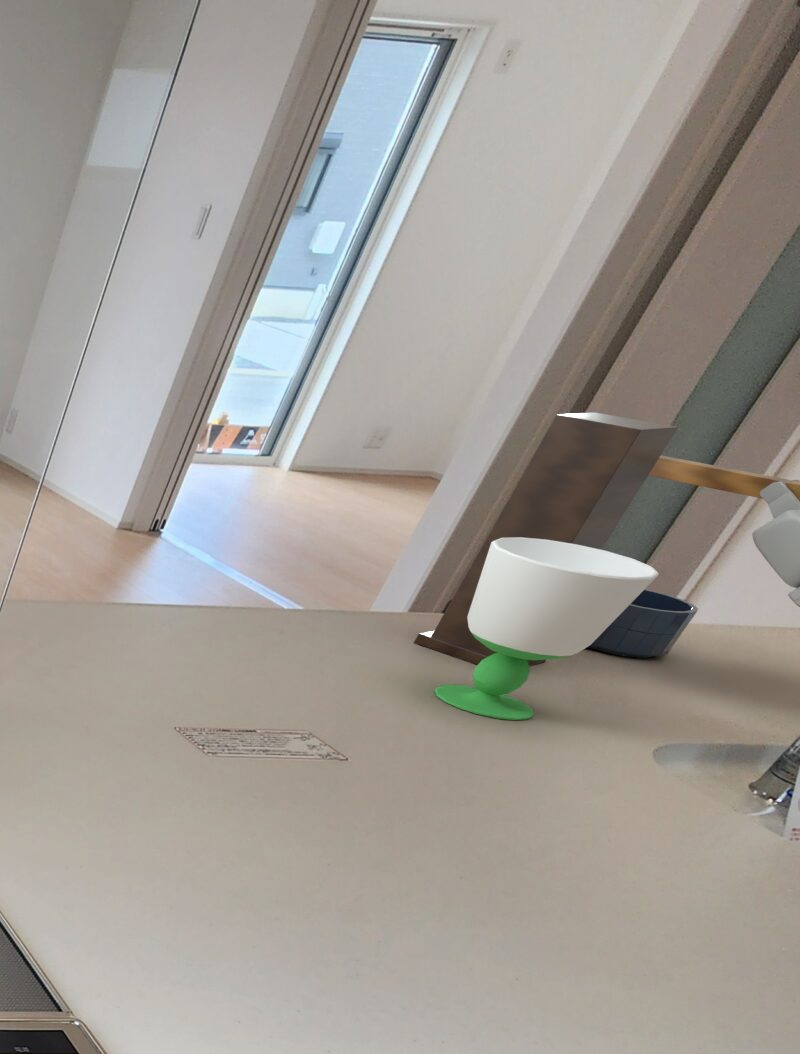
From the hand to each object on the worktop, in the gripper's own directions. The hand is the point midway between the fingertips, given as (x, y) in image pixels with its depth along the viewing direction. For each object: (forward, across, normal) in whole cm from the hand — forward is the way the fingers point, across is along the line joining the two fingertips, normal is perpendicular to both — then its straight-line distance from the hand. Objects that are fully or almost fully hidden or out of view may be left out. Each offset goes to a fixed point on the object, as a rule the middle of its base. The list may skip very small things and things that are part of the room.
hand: (777, 485), depth 124 cm
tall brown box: (-2, +22, +22) cm, 31 cm away
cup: (-11, +40, +18) cm, 45 cm away
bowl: (-6, 0, +20) cm, 21 cm away
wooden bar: (+4, 0, +4) cm, 5 cm away
